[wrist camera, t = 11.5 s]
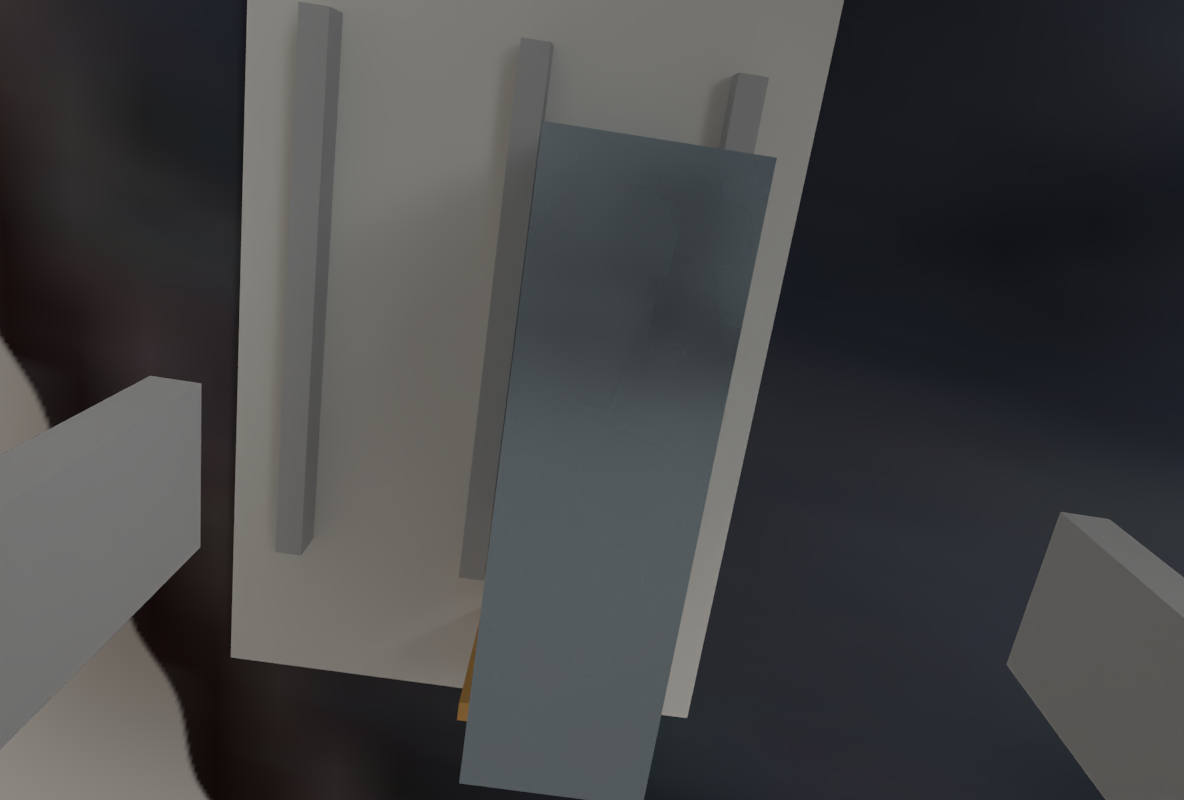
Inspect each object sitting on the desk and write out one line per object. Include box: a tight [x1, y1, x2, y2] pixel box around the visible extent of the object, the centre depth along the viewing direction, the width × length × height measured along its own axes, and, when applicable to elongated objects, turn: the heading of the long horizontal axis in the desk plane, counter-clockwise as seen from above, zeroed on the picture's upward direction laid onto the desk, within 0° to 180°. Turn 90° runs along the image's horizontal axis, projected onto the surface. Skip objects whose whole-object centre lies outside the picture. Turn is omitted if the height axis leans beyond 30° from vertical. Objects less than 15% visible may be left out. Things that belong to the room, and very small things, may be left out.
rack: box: [231, 0, 844, 721], centre depth 23 cm, size 26×16×6 cm, turn 171°
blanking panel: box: [459, 121, 777, 800], centre depth 20 cm, size 12×4×12 cm, turn 171°
